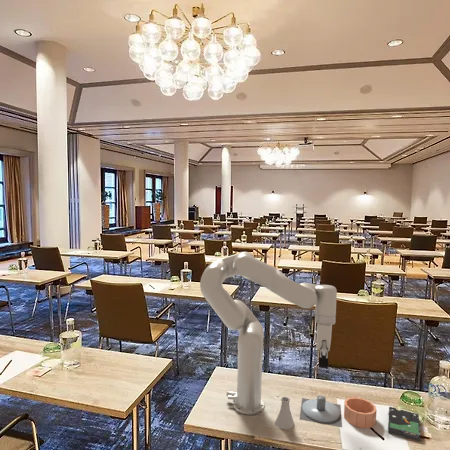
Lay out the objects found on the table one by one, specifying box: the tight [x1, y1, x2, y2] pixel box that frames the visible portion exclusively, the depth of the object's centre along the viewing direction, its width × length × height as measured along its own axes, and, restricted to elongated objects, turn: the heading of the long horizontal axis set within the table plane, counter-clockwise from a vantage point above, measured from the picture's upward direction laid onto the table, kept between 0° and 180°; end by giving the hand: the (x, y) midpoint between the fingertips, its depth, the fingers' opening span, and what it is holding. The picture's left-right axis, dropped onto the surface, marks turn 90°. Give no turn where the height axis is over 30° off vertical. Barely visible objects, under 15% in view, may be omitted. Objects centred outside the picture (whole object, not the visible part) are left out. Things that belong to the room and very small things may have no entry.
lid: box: [302, 395, 340, 423], centre depth 137 cm, size 14×14×6 cm
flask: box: [274, 396, 295, 431], centre depth 129 cm, size 7×7×10 cm
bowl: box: [343, 396, 377, 429], centre depth 133 cm, size 11×11×6 cm
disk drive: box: [387, 406, 421, 442], centre depth 131 cm, size 10×3×15 cm
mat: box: [299, 397, 343, 428], centre depth 137 cm, size 15×15×1 cm
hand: (323, 362), depth 136 cm, fingers open, 9 cm apart
